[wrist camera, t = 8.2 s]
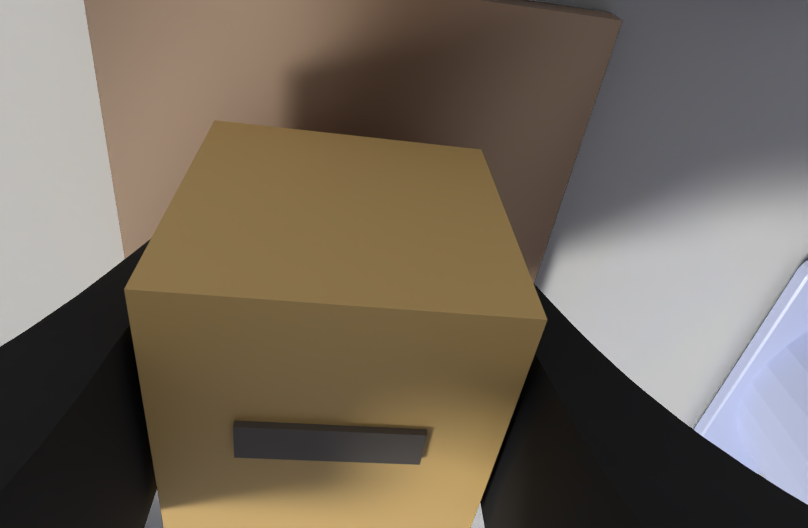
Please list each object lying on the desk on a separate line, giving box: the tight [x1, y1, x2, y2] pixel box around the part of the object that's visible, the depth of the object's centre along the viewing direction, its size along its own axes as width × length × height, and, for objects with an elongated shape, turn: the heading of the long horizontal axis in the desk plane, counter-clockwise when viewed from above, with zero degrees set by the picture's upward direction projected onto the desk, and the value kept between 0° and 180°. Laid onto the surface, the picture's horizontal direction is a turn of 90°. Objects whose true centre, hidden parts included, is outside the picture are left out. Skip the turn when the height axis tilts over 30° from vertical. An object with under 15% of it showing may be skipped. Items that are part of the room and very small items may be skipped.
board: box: [84, 0, 622, 283], centre depth 12 cm, size 9×9×1 cm
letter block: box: [124, 120, 547, 528], centre depth 9 cm, size 4×4×5 cm
